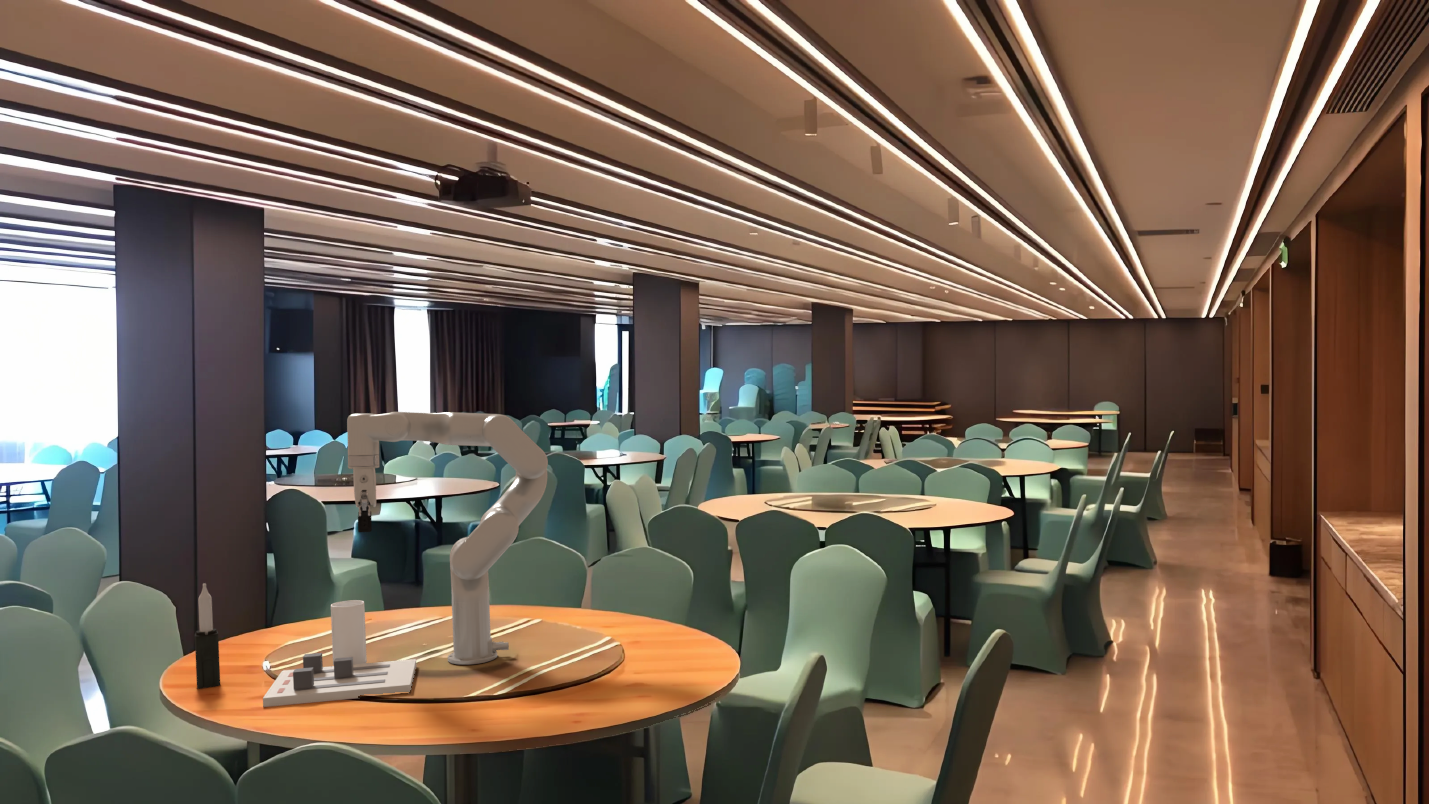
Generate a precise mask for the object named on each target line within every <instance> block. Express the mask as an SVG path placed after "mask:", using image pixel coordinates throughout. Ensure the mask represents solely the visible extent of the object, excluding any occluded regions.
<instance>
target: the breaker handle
mask: <svg viewBox="0 0 1429 804" xmlns="http://www.w3.org/2000/svg"><path fill="white" fill-rule="evenodd" d="M352 676H353V657H346V658H335V660H334V678H342V677H352Z"/></svg>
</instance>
